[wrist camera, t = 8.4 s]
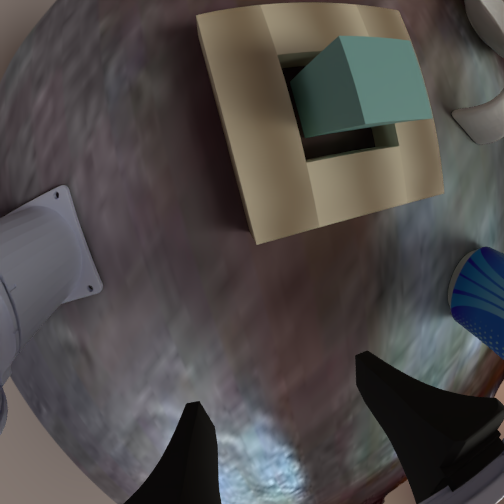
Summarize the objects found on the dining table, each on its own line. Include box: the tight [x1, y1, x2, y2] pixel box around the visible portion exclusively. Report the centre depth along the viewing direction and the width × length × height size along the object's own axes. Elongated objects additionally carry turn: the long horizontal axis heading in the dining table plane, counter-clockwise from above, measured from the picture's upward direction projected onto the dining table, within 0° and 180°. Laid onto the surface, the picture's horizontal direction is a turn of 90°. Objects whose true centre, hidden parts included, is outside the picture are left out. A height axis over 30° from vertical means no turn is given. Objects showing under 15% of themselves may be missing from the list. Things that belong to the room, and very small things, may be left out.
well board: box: [196, 3, 444, 245], centre depth 15 cm, size 14×14×3 cm
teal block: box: [290, 36, 433, 138], centre depth 13 cm, size 4×4×8 cm
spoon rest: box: [452, 0, 504, 145], centre depth 13 cm, size 24×12×7 cm, turn 156°
